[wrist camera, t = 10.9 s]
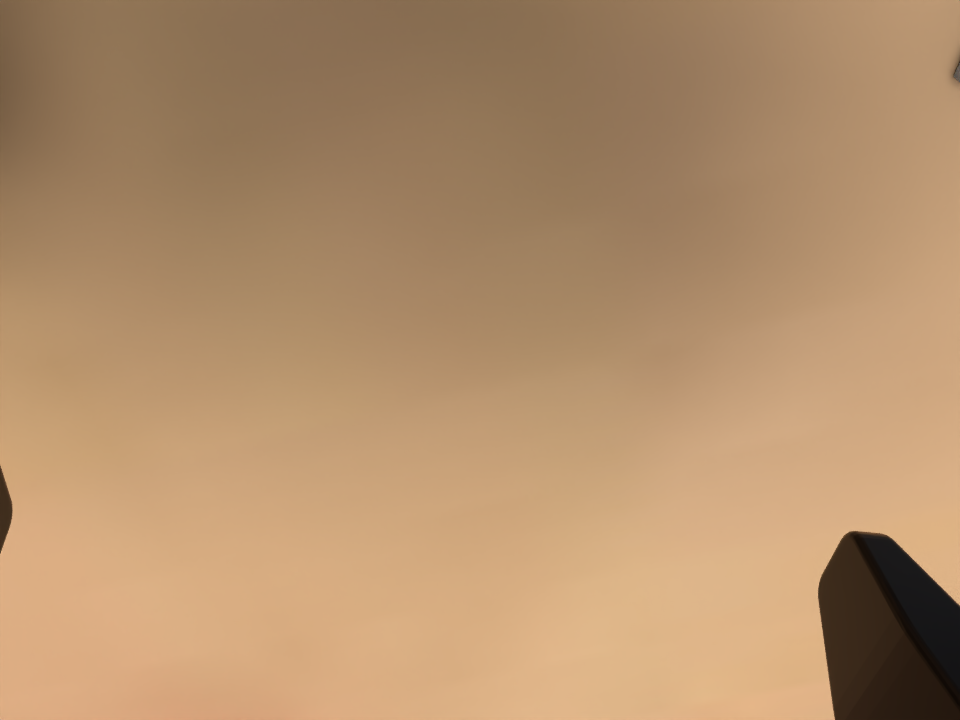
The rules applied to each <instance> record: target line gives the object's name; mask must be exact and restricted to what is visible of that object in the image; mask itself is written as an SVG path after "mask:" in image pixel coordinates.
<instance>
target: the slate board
mask: <svg viewBox="0 0 960 720" xmlns="http://www.w3.org/2000/svg"><path fill="white" fill-rule="evenodd" d="M953 77H955V78H956V79H957V80H958V81H959V82H960V63H959V65H958V67H957V70H956V72H955V74H954V76H953Z"/></svg>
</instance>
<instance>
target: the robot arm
mask: <svg viewBox="0 0 960 720" xmlns="http://www.w3.org/2000/svg"><path fill="white" fill-rule="evenodd" d="M11 519H12V501H11V498H10V495H9V491H8V488H7V485H6V482H5V479H4V476H3V473H2V469H1V466H0V553H1V550H2V547H3V544H4V541H5V539H6V536H7V533H8V530H9V527H10V524H11ZM818 599H819V607H820V615H821V622H822V629H823V637H824V644H825V652H826V659H827V667H828V674H829V681H830V689H831V696H832V704H833V711H834V717H835V720H960V606H959V605H958V604H957V603H956V602H955V601H954V600H953V599H952V598H951V597H950V596H949V595H948V594H947V593H946V592H945V591H944V590H943V589H942V588H941V587H940V586H939V585H938V584H937V583H936V582H935V581H934V580H933V579H932V578H931V577H930V576H929V575H928V574H927V573H926V572H925V571H924V570H923V569H922V568H921V567H920V566H919V565H918V564H917V563H916V562H915V561H914V560H913V559H912V558H911V557H910V556H909V555H908V554H907V553H906V552H905V551H904V550H903V549H902V548H901V547H900V546H899V545H898V544H897V543H896V542H895V541H894V540H893V539H891V538H890V537H889V536H887V535H884V534H880V533H870V532H859V531H851V532H849V533H847V534H846V535H844V536H843V538H842V539H841V541H840V543H839V545H838V547H837V548H836V550H835V552H834V554H833V556H832V558H831V559H830V561H829V563H828V565H827V567H826V569H825V570H824V572H823V574H822V576H821V579H820V582H819V588H818Z"/></svg>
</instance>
